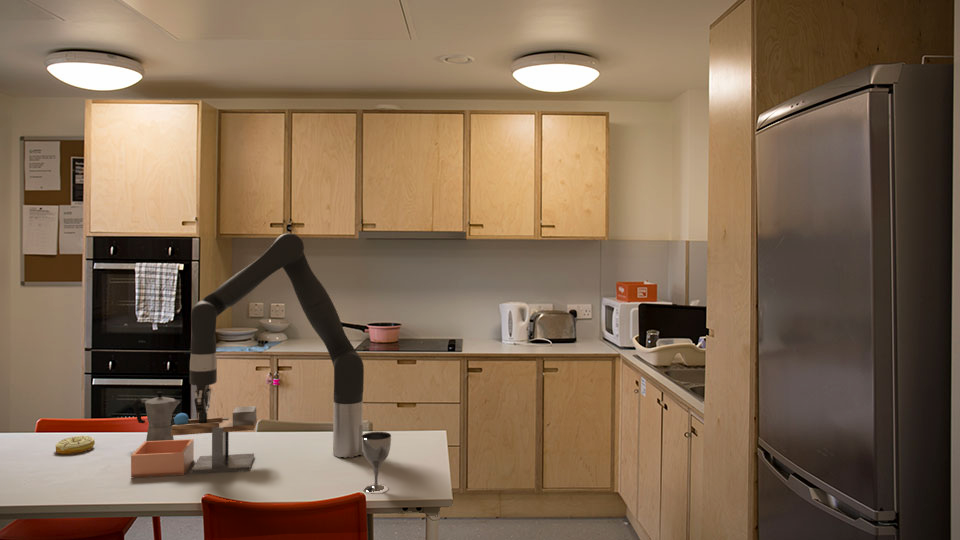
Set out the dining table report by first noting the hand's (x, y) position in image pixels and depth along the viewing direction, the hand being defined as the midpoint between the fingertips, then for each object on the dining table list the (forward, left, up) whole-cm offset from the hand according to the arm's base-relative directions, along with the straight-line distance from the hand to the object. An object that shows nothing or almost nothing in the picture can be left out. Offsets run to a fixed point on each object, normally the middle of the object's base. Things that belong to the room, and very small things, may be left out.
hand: (202, 424), depth 199 cm
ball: (+6, 0, +2) cm, 6 cm away
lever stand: (-5, 0, -13) cm, 14 cm away
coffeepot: (+19, -25, -13) cm, 34 cm away
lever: (-4, 0, -1) cm, 4 cm away
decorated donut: (+43, -24, -13) cm, 51 cm away
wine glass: (-50, +28, -13) cm, 59 cm away
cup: (+11, 0, -13) cm, 17 cm away
